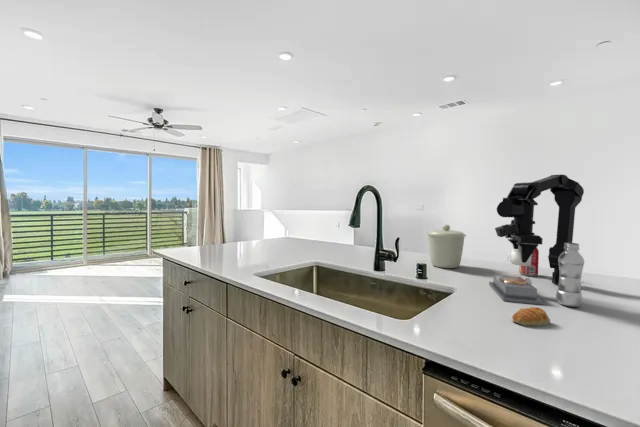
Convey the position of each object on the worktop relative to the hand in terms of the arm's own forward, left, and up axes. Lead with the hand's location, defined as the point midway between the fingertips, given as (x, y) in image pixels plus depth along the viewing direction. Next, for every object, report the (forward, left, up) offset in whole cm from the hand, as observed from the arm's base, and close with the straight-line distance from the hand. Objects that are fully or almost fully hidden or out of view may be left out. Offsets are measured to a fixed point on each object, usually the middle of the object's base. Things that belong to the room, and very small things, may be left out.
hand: (520, 260), depth 107 cm
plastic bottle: (-11, +10, -12) cm, 19 cm away
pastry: (+6, +29, -12) cm, 32 cm away
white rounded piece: (0, 0, -1) cm, 1 cm away
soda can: (-12, -31, -12) cm, 35 cm away
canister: (+22, -37, -12) cm, 44 cm away
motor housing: (+3, +2, -12) cm, 12 cm away
